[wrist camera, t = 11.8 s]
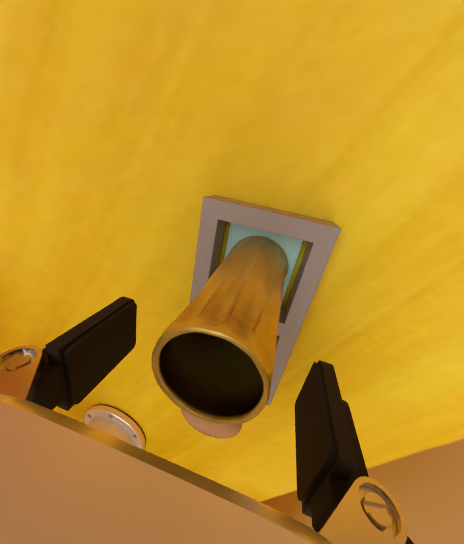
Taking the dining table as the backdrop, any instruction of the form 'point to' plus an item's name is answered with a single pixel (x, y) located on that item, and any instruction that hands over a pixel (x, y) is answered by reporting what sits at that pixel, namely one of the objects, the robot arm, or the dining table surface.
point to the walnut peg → (212, 427)
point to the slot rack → (290, 237)
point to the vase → (226, 337)
